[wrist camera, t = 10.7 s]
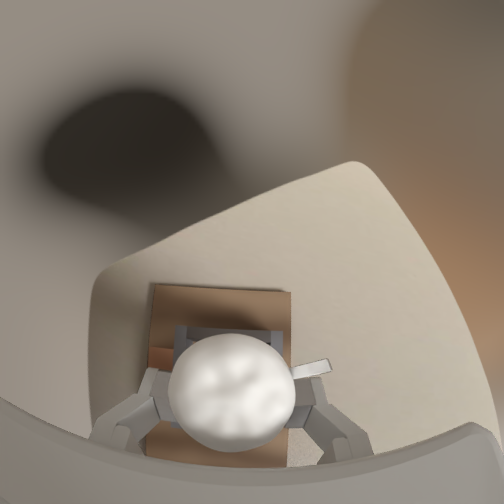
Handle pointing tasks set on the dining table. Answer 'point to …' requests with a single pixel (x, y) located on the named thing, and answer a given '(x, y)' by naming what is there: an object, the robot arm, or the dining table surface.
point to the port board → (203, 326)
